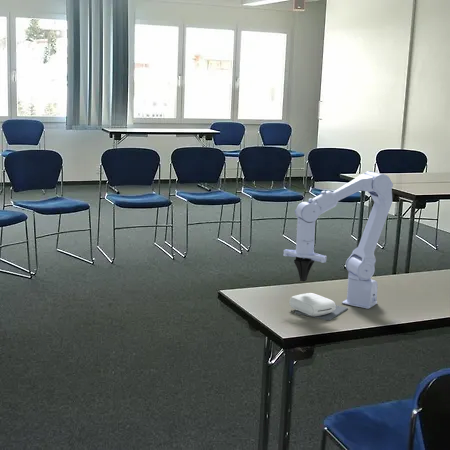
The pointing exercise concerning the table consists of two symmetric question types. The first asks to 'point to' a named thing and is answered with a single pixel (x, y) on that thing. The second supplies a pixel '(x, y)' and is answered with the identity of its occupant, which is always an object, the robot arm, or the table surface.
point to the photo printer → (312, 304)
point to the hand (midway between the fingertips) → (303, 280)
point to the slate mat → (327, 316)
